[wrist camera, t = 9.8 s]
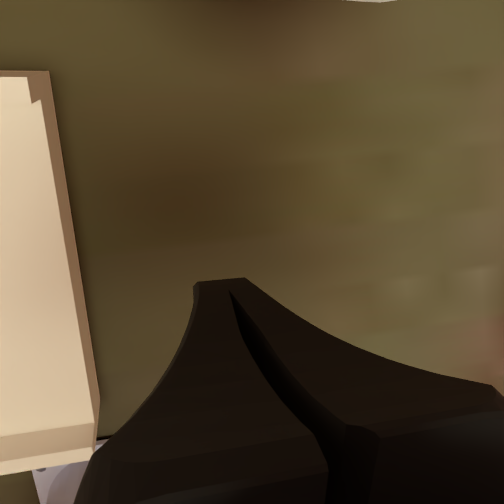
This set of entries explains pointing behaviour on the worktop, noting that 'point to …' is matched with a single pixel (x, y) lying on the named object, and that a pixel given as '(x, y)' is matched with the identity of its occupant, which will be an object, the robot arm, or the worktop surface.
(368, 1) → the disposable coffee cup
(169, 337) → the worktop surface
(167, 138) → the worktop surface
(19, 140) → the trap box
